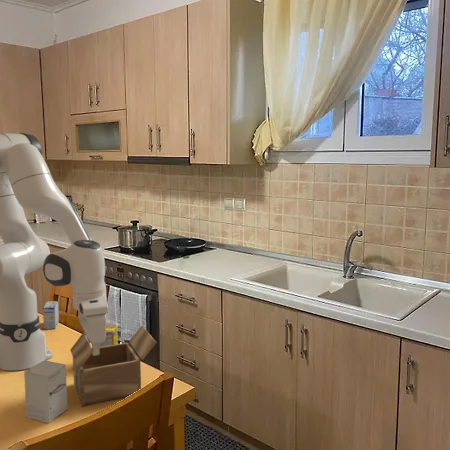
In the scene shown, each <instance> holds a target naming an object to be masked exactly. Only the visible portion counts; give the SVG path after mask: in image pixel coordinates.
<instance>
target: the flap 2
mask: <svg viewBox="0 0 450 450" xmlns="http://www.w3.org/2000/svg"><path fill="white" fill-rule="evenodd" d="M128 343H129V345H130V346H131V348H132V349H133V350H134V352H135V353H137V354H136V355H137V356H138V358H139V359H141V361H143V360H144V359H145V357H147V355H148V354H149V353H150V352H151V350H152V349H153V348H154V347H155V345H157V343H158V342H157V341H156V340H155V339H154V337H152V335H151V334H150V333H149V332H148V330H147V329H146V328H145V327H144V326H143V325H141V326H140V327H139V329H137V331H136V332H135V333H134V334H133V336H132V337H131V338H130V339H129V340H128Z"/></svg>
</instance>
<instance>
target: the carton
mask: <svg viewBox="0 0 450 450" xmlns="http://www.w3.org/2000/svg"><path fill="white" fill-rule="evenodd" d="M99 352H100V353H99V355H95V356H94V355H93V354H91V355H90V356H89V358H88V359H87V360H86V362H85V363H84V364H83V366H82V367H81V369H80V370H78V369H77V366H76V364H75V361H74V359H73V358H72V363H73V364H72V365H73V366H72V368H73V385H74V388H75V392H76V394H77V396H78V399H79V402H80V403H79V404H80V405H81V407H82V408H84V407H89V406H93V405H98V404H102V403H103V404H104V403H108V402H111V401H117V400H122V399H126V398H125V397H127V396H129V395H131V394H133V393H134V392H136V391H138V390H139V389H141V390H142V380H141V379H142V378H141V377H142V376H141V375H142V373H141V360H140V359H141V358H140V357H139V355H138V354H136V351H135V350H134V348H133V347H132V345H131V344H130V342H129V341H128V342H122V343H118V344H115V345H109V346H102V347H100V348H99ZM127 398H128V397H127Z"/></svg>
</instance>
